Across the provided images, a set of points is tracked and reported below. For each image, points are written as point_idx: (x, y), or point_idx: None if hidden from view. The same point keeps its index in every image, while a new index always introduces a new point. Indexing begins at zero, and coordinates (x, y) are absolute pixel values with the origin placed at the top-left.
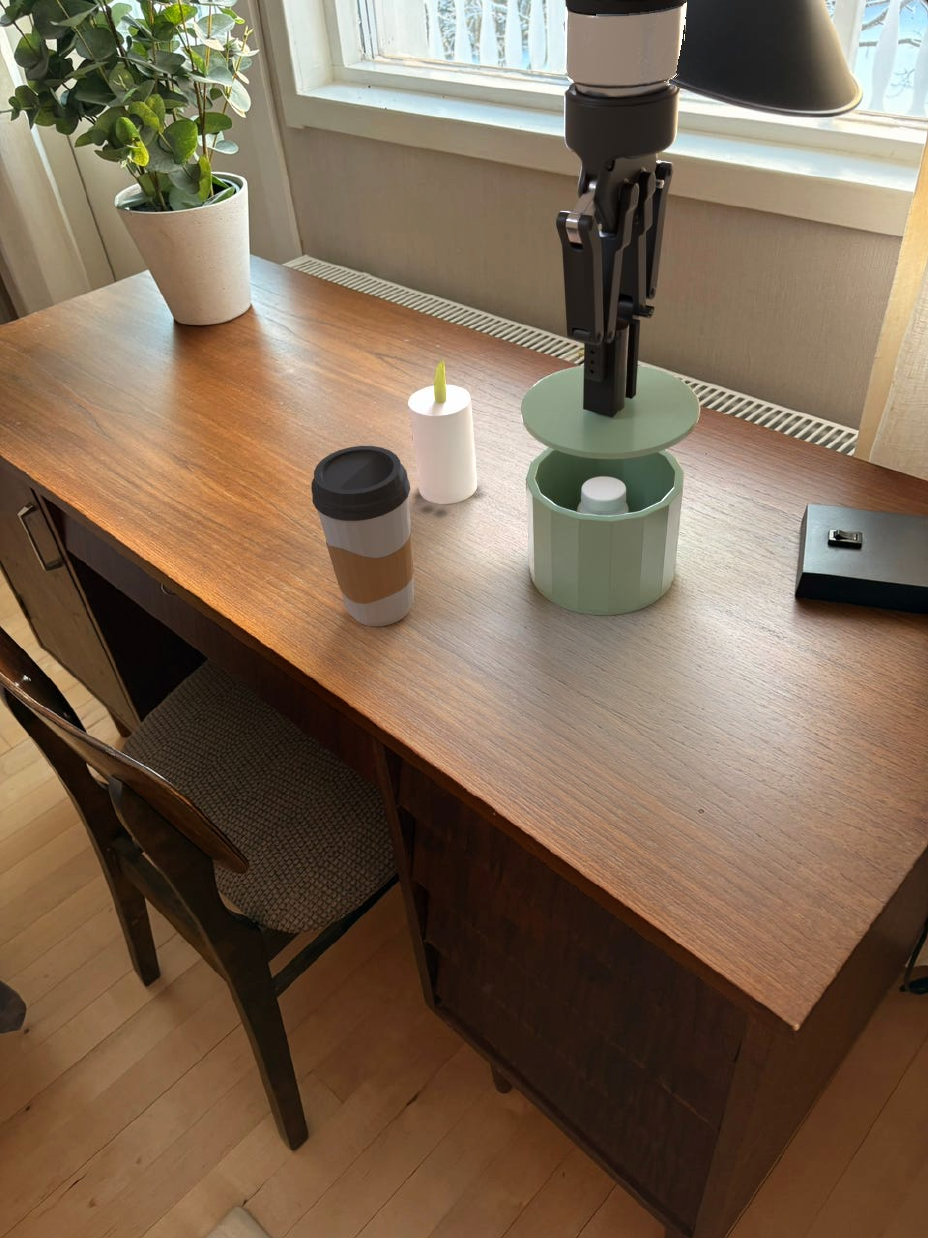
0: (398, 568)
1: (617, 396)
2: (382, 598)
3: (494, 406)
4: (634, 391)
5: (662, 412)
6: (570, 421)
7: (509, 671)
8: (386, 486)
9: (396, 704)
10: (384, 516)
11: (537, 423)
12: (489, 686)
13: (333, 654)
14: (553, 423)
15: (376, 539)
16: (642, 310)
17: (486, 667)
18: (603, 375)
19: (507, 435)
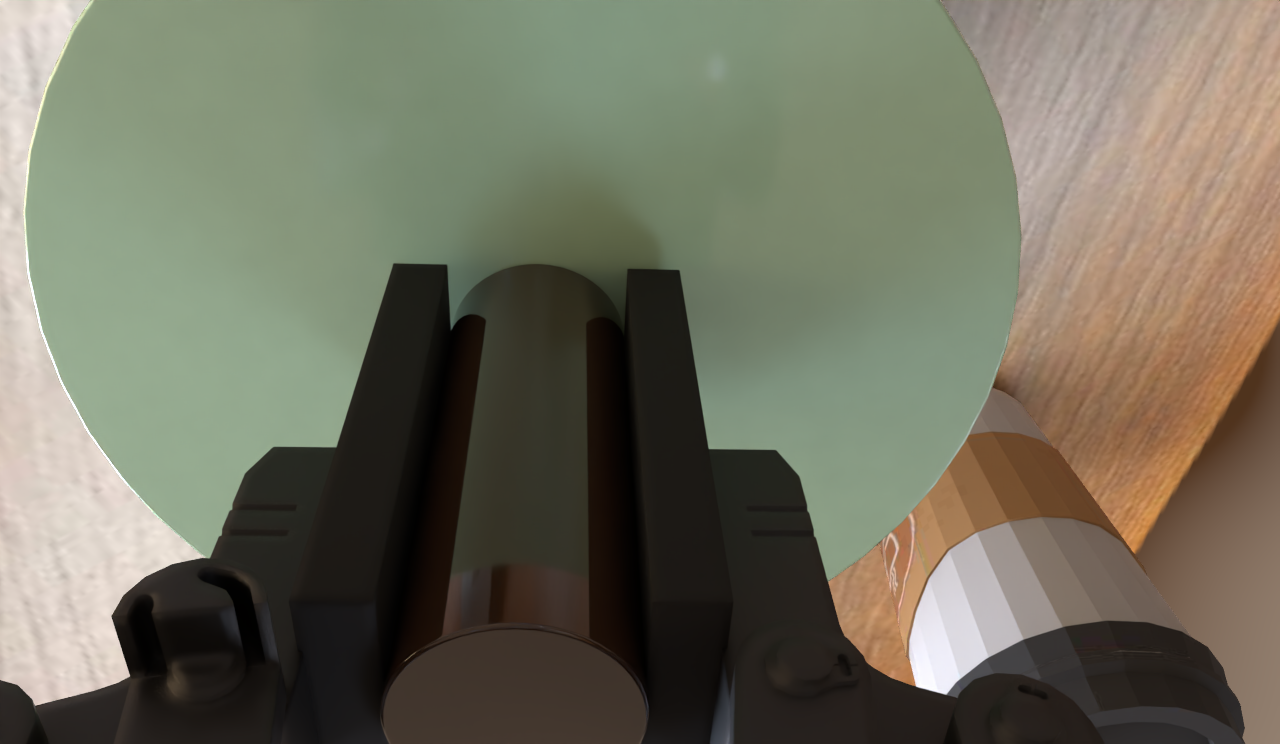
0: (1048, 479)
1: (635, 322)
2: (1058, 451)
3: (38, 644)
4: (410, 279)
5: (468, 49)
6: (772, 420)
7: (1084, 50)
8: (1172, 700)
9: (1266, 236)
10: (1161, 624)
11: (845, 523)
12: (1155, 68)
13: (1134, 437)
14: (821, 472)
15: (1148, 584)
16: (231, 657)
17: (1085, 113)
18: (752, 470)
19: (133, 555)
